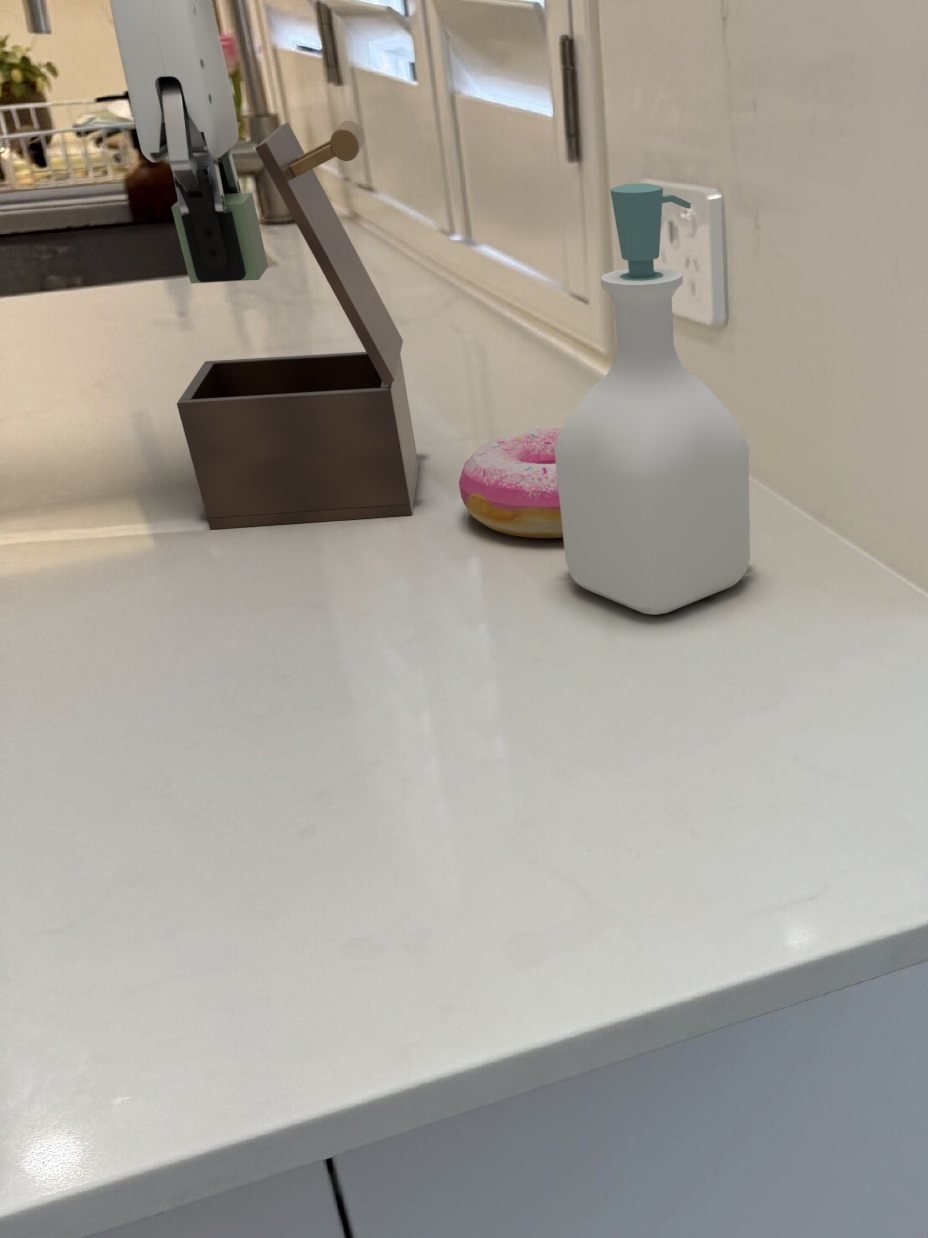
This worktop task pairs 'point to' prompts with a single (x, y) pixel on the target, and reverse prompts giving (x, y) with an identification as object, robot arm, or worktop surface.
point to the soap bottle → (651, 448)
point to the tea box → (299, 440)
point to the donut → (515, 484)
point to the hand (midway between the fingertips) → (227, 269)
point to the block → (246, 233)
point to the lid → (333, 236)
